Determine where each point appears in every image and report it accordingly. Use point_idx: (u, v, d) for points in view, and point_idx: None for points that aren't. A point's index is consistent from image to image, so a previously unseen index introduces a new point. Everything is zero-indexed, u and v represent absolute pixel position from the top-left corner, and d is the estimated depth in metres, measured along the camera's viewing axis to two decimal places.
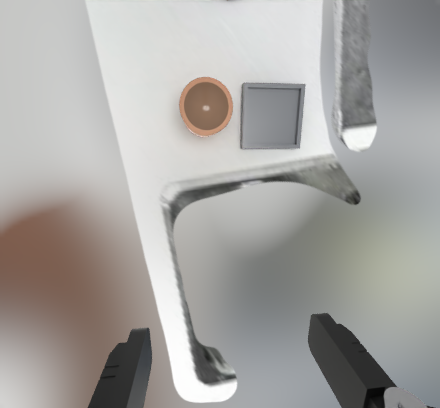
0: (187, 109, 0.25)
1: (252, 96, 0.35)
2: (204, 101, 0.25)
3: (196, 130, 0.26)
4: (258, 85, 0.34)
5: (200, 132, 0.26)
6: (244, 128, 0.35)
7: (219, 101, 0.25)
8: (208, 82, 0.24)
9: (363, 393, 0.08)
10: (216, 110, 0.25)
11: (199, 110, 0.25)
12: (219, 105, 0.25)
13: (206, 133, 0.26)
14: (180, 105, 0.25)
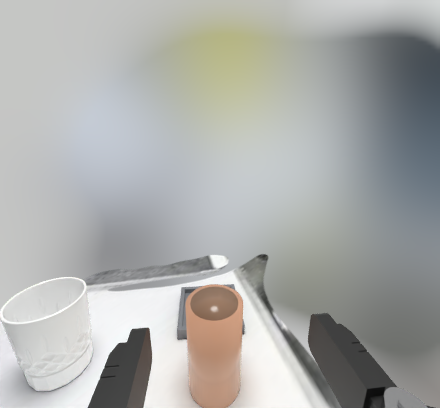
0: (219, 317, 0.21)
1: None
2: (208, 304, 0.23)
3: (240, 308, 0.22)
4: (180, 318, 0.33)
5: (241, 305, 0.23)
6: None
7: (207, 292, 0.25)
8: (190, 302, 0.23)
9: (363, 393, 0.08)
10: (217, 295, 0.24)
11: (219, 307, 0.23)
12: (212, 293, 0.25)
13: (241, 300, 0.24)
14: (215, 323, 0.21)
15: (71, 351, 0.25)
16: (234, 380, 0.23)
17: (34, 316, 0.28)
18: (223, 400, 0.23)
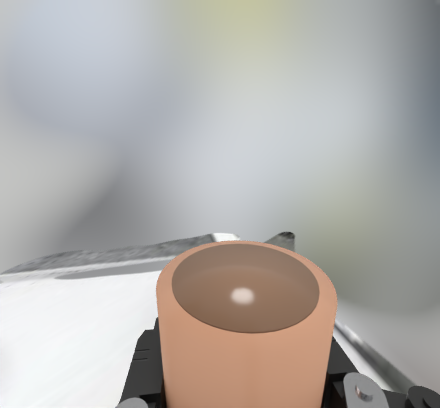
0: (270, 321, 0.06)
1: None
2: (227, 281, 0.08)
3: (329, 292, 0.07)
4: None
5: (327, 283, 0.08)
6: None
7: (221, 255, 0.09)
8: (173, 277, 0.08)
9: (326, 379, 0.08)
10: (247, 260, 0.09)
11: (260, 290, 0.07)
12: (233, 256, 0.09)
13: (320, 272, 0.08)
14: (264, 346, 0.05)
15: None
16: None
17: None
18: None
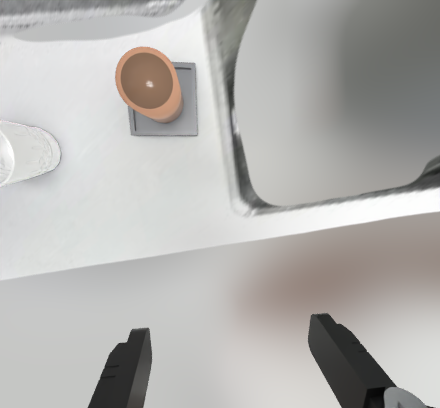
0: (152, 105, 0.23)
1: (144, 124, 0.33)
2: (141, 84, 0.22)
3: (174, 95, 0.23)
4: (131, 119, 0.32)
5: (176, 90, 0.22)
6: (176, 133, 0.33)
7: (139, 64, 0.21)
8: (121, 78, 0.22)
9: (363, 393, 0.08)
10: (150, 69, 0.22)
11: (152, 91, 0.22)
12: (144, 65, 0.22)
13: (176, 83, 0.22)
14: (148, 112, 0.23)
15: (42, 168, 0.30)
16: (175, 116, 0.30)
17: None
18: (167, 122, 0.32)
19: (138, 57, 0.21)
